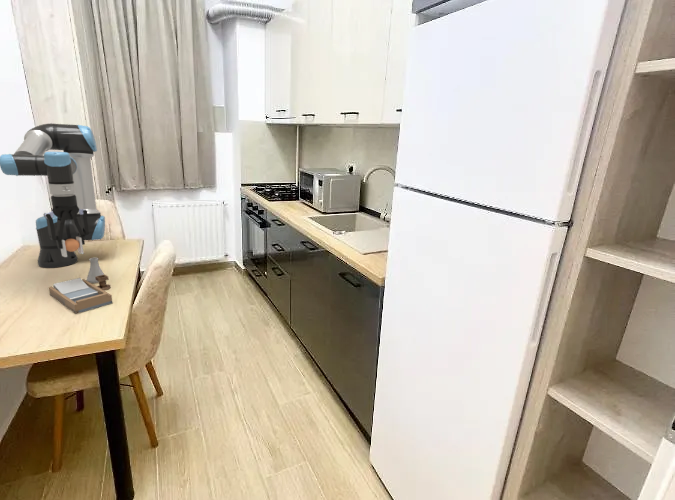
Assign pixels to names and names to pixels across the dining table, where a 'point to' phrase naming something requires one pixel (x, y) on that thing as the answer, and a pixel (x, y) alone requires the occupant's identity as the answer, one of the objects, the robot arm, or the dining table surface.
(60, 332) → the dining table surface
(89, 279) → the flask
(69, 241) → the ball
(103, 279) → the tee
